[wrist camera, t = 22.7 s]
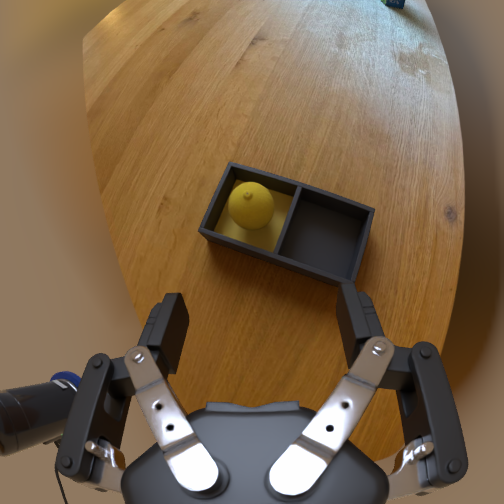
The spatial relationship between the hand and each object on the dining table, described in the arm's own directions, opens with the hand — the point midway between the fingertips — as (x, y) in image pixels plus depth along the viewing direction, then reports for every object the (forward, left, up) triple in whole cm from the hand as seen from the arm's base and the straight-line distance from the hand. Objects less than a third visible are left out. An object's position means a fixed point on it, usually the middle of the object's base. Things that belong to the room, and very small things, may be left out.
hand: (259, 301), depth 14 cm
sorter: (+10, +2, -22) cm, 25 cm away
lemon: (+10, +7, -22) cm, 25 cm away
